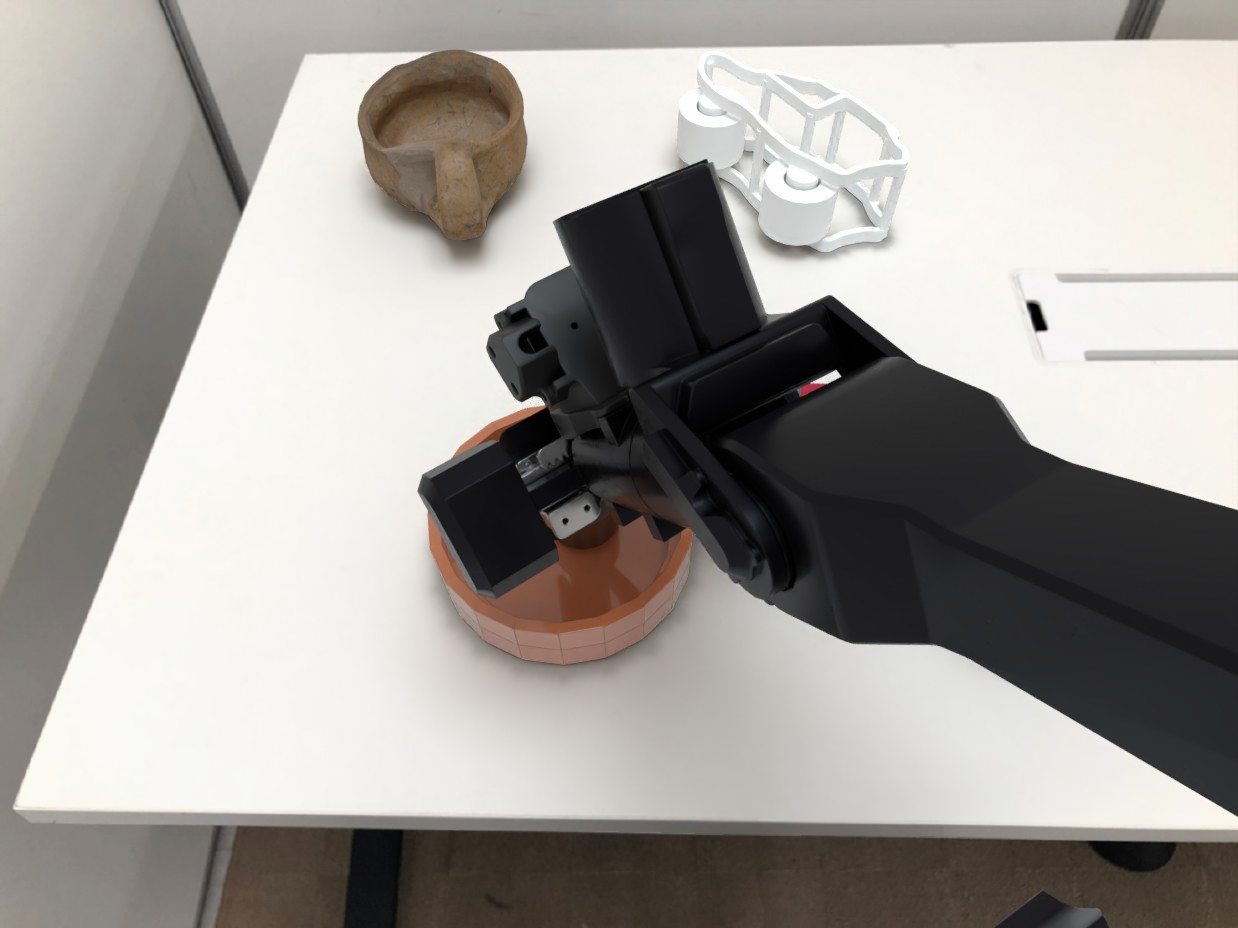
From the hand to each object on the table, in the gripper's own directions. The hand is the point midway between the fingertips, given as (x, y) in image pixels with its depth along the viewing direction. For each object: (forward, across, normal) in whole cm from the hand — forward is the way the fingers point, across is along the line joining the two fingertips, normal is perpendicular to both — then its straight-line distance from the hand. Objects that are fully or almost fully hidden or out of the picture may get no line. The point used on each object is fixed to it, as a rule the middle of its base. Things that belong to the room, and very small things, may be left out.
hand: (563, 433), depth 48 cm
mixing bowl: (+5, +2, +8) cm, 9 cm away
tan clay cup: (+28, -9, -16) cm, 34 cm away
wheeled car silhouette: (+18, -31, -6) cm, 37 cm away
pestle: (+4, 0, +6) cm, 8 cm away
